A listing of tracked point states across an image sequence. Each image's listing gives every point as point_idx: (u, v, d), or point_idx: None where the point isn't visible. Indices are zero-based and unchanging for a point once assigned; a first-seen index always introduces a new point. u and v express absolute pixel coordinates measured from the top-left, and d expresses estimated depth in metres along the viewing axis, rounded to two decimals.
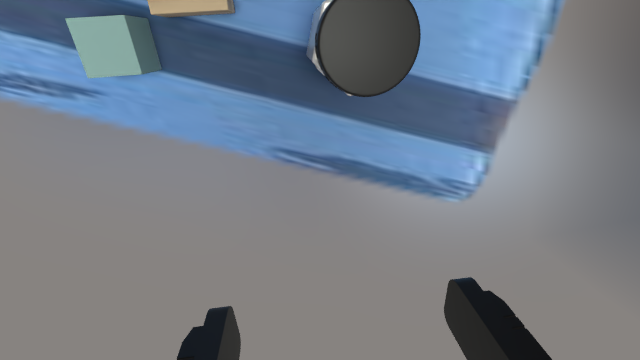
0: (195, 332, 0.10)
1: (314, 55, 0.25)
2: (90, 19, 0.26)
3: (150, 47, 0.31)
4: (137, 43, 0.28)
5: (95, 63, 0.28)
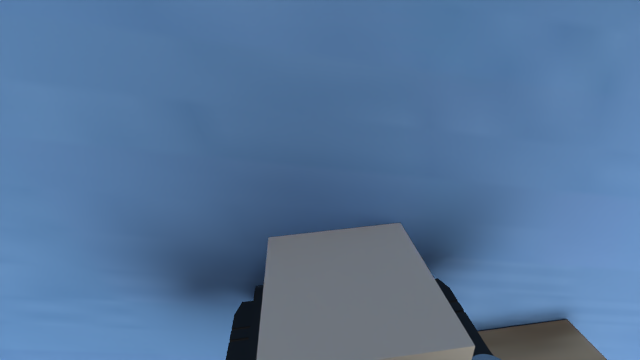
0: (244, 306, 0.10)
1: None
2: None
3: None
4: None
5: None
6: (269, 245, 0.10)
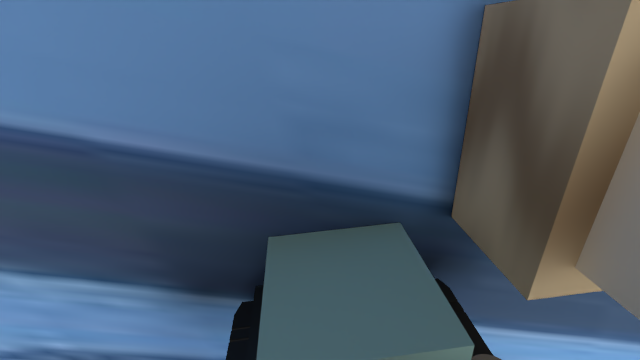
0: (244, 306, 0.10)
1: None
2: None
3: None
4: None
5: None
6: None
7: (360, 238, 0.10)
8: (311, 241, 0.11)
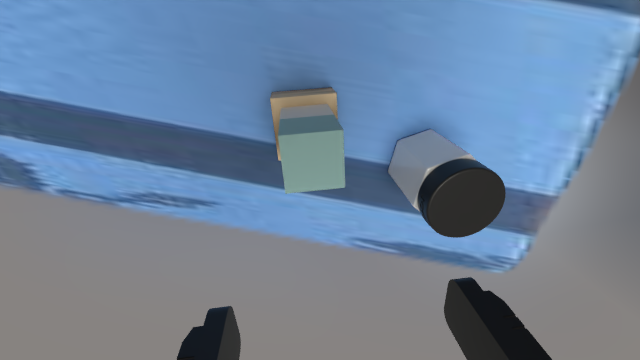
0: (195, 332, 0.10)
1: (415, 202, 0.32)
2: (305, 135, 0.23)
3: None
4: None
5: (298, 178, 0.24)
6: (281, 108, 0.31)
7: (316, 118, 0.26)
8: (296, 119, 0.26)
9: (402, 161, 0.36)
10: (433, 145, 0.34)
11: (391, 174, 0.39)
